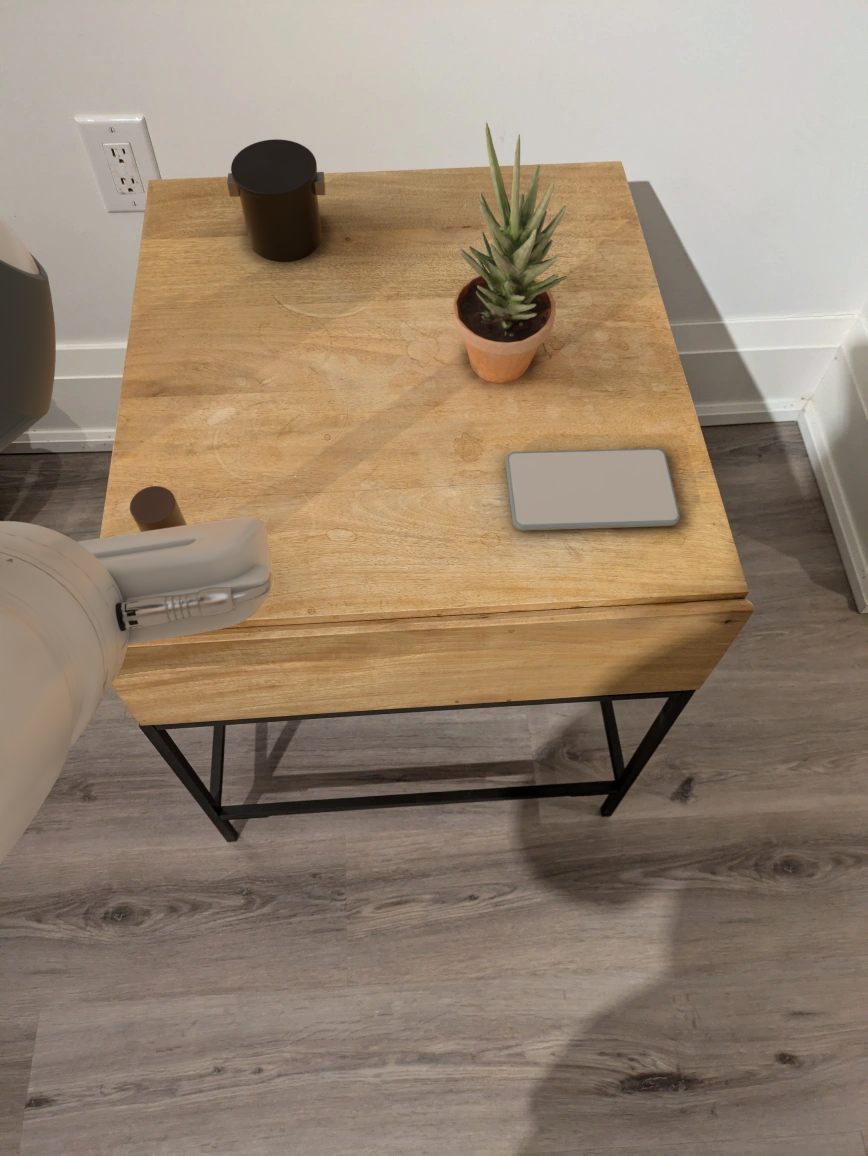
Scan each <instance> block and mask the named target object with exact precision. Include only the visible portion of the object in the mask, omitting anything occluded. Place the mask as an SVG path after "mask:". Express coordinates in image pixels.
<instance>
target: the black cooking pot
mask: <svg viewBox="0 0 868 1156" xmlns="http://www.w3.org/2000/svg"><path fill="white" fill-rule="evenodd" d="M226 185H227V189H228V194H229V197H230V198H233V197H237V198H239V200H240V205H241V209H242V214H243V219H244V223H245V228H246V233H247V238H248V242H249V245H250V248H251V249H252V250H253V251H254V253H256V255H258V256H259V257H261V258H263V259H265V260H268V261H271V262H272V261H273V262H278V263H288V262H289V263H290V262H295V261H298V260H302V259H305V258H306V257H308V256H310V255H312V254H313V253H314V252H315V251H316V250H317V249H318V248H319V246H320V245H321V243H322V240H323V230H322V229H323V228H322V221H321V214H320V204H319V197H318V196H325V195H326V180H325V172H324V171H318V164H317V160H316V157H315V154H313V152H312V151H311V150H310V149H309V148H308V147H306V146H305V145H303V144H301V143H298V142H296V141H292V140H288V139H281V138H280V139H277V138H276V139H275V138H274V139H265V140H260V141H257V142H254V143H252V144H251V143H250V144H249V145H247V146H245V147H244V148H242V149H241V150H240V151H239V152H238V153H237V154H236V155H235V156H234V158H233V160H232V162H231V166H230V172H229V173H227V179H226Z"/></svg>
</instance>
